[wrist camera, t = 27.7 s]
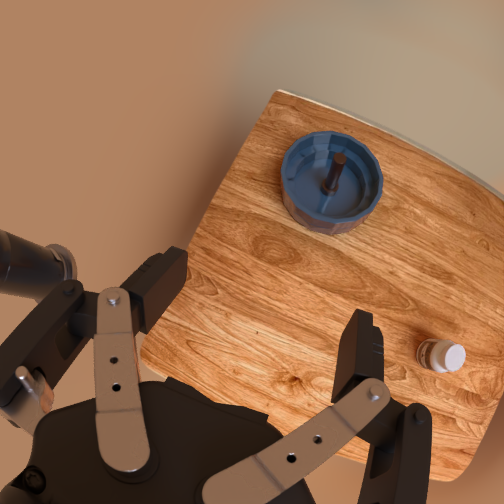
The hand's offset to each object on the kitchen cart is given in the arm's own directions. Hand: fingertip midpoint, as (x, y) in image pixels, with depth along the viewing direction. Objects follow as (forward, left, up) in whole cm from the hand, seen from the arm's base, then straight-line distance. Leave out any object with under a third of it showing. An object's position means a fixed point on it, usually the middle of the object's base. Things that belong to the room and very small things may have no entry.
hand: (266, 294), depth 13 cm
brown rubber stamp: (+10, +16, -26) cm, 32 cm away
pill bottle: (+21, -10, -27) cm, 36 cm away
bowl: (+10, +16, -27) cm, 33 cm away
